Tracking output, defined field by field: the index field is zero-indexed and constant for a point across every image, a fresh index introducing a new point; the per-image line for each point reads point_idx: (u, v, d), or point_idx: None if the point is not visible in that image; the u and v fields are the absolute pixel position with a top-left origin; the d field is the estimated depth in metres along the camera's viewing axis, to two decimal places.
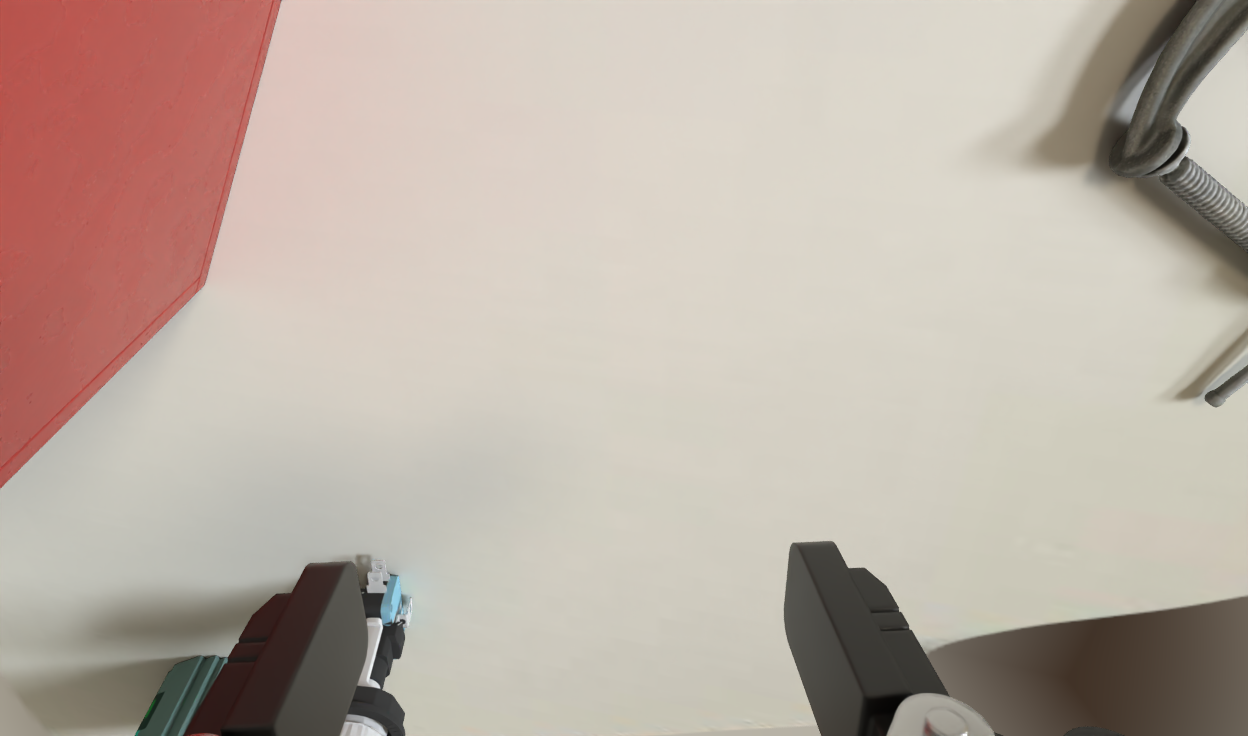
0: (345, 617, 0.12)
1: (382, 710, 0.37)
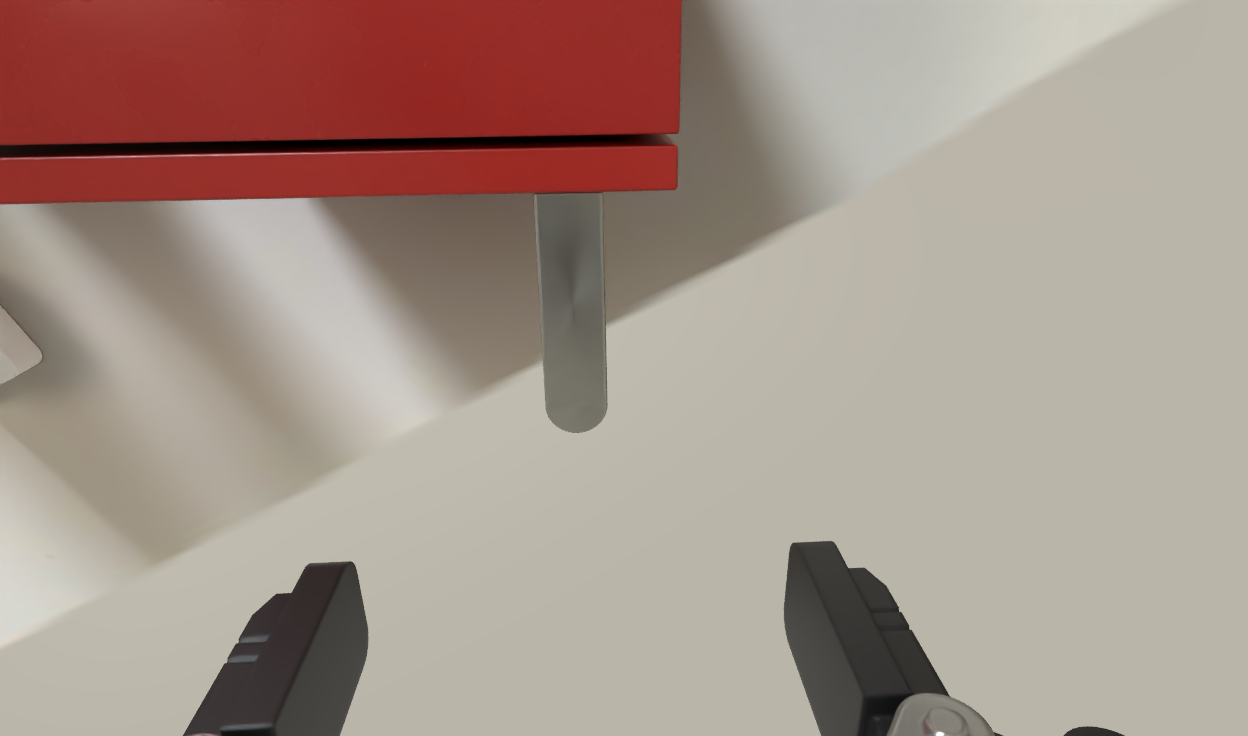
0: (345, 617, 0.12)
1: None
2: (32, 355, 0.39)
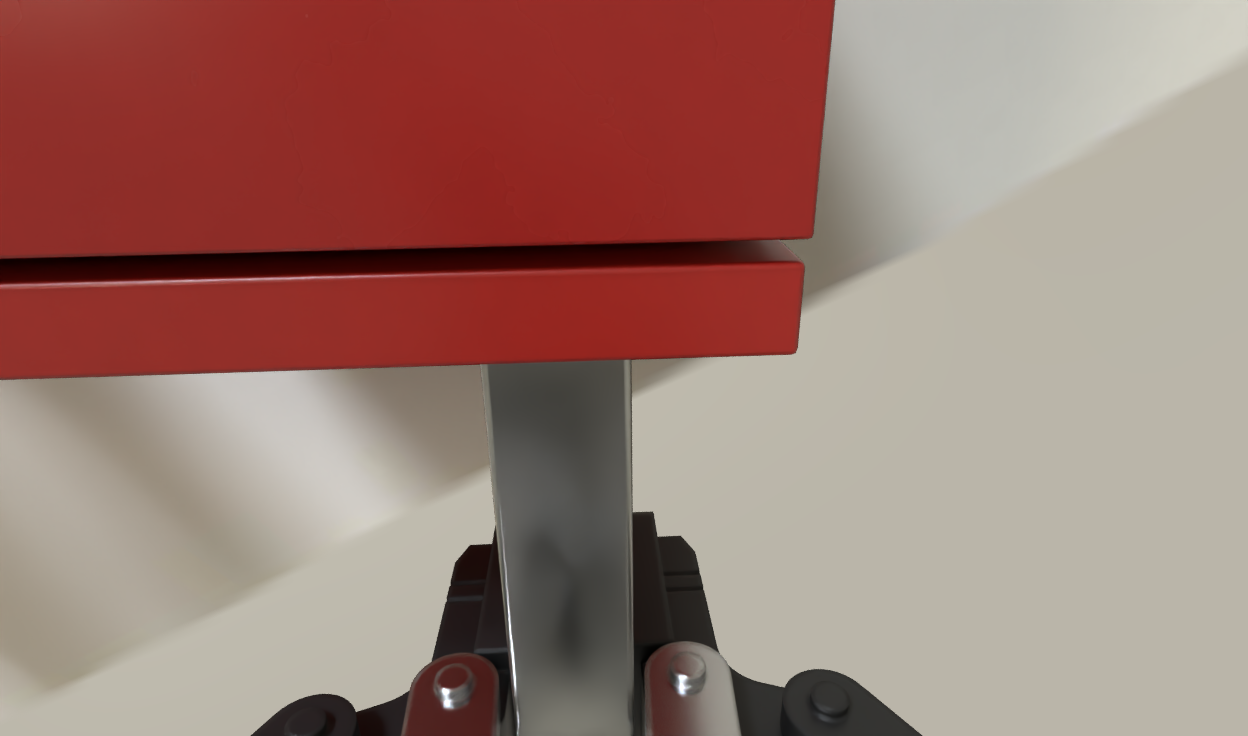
0: None
1: None
2: None
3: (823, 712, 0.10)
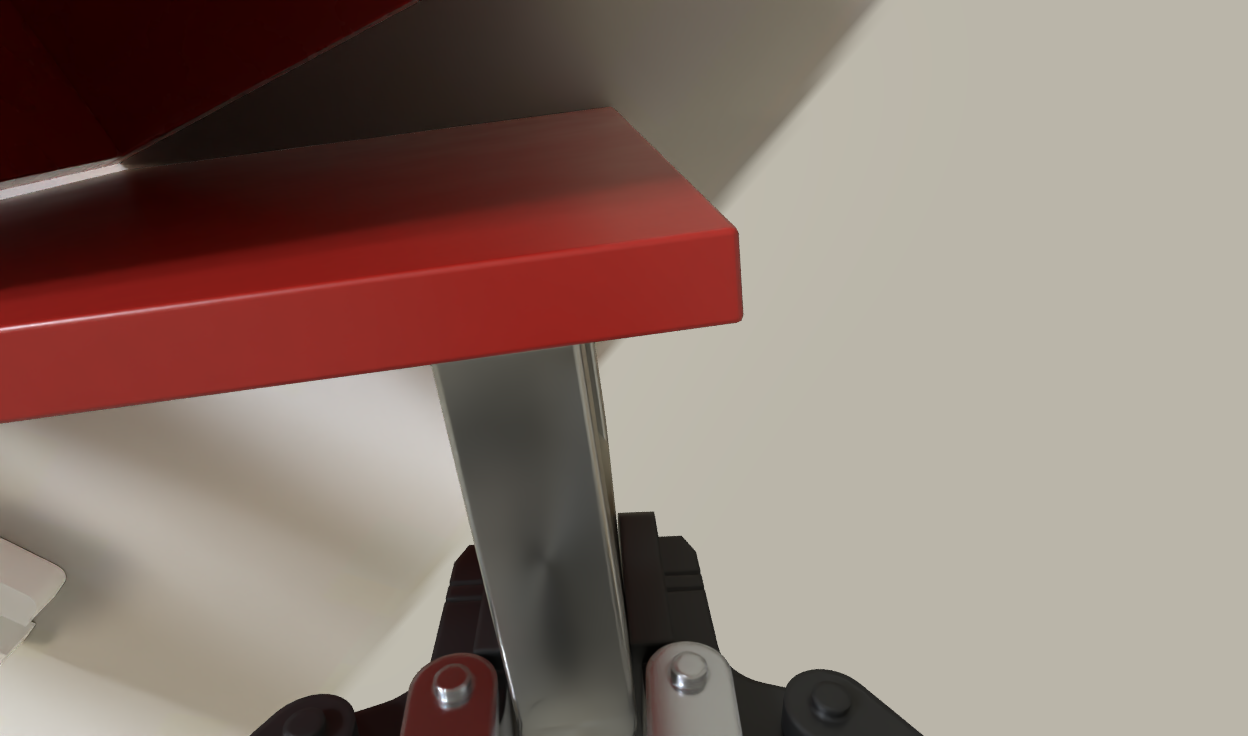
0: None
1: None
2: (50, 576, 0.32)
3: (824, 712, 0.10)
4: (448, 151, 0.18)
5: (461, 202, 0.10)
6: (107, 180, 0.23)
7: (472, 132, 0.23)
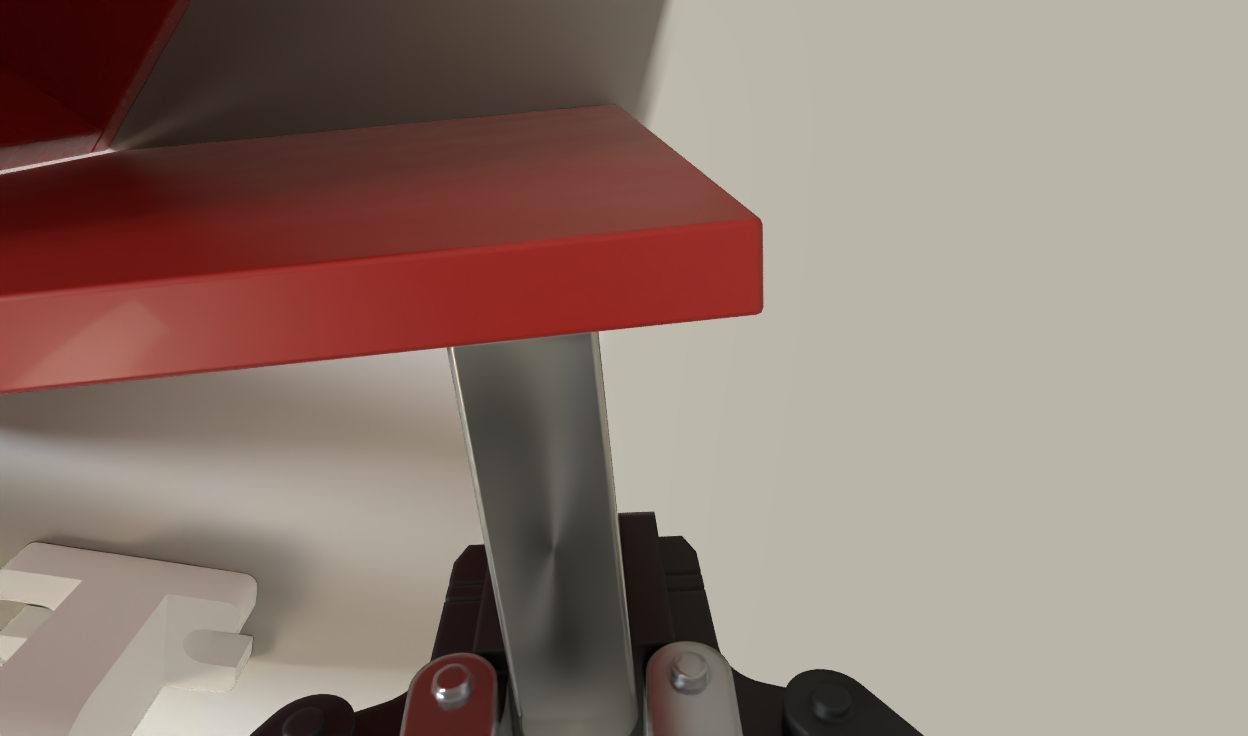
0: None
1: None
2: (241, 583, 0.33)
3: (825, 712, 0.10)
4: (454, 141, 0.18)
5: (475, 188, 0.10)
6: (105, 159, 0.23)
7: (477, 124, 0.23)
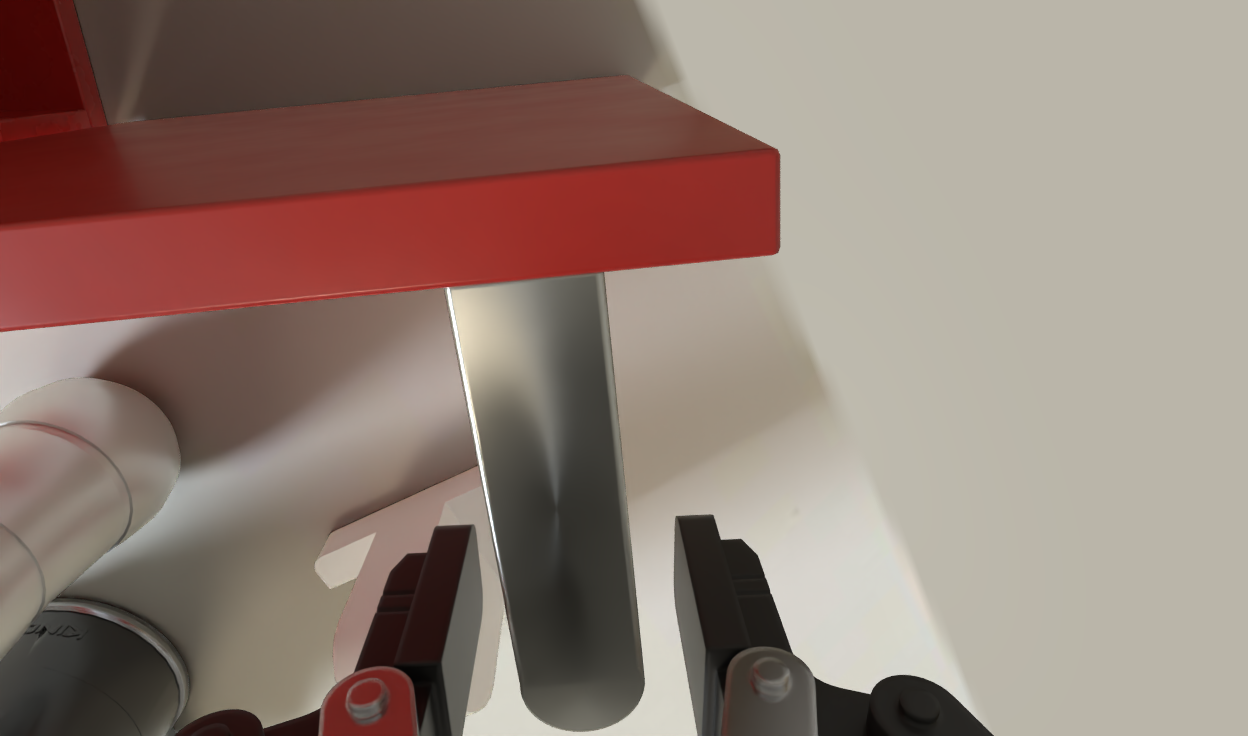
0: (471, 575, 0.13)
1: None
2: None
3: (914, 719, 0.09)
4: (461, 105, 0.18)
5: (478, 136, 0.10)
6: (109, 128, 0.22)
7: (485, 93, 0.23)
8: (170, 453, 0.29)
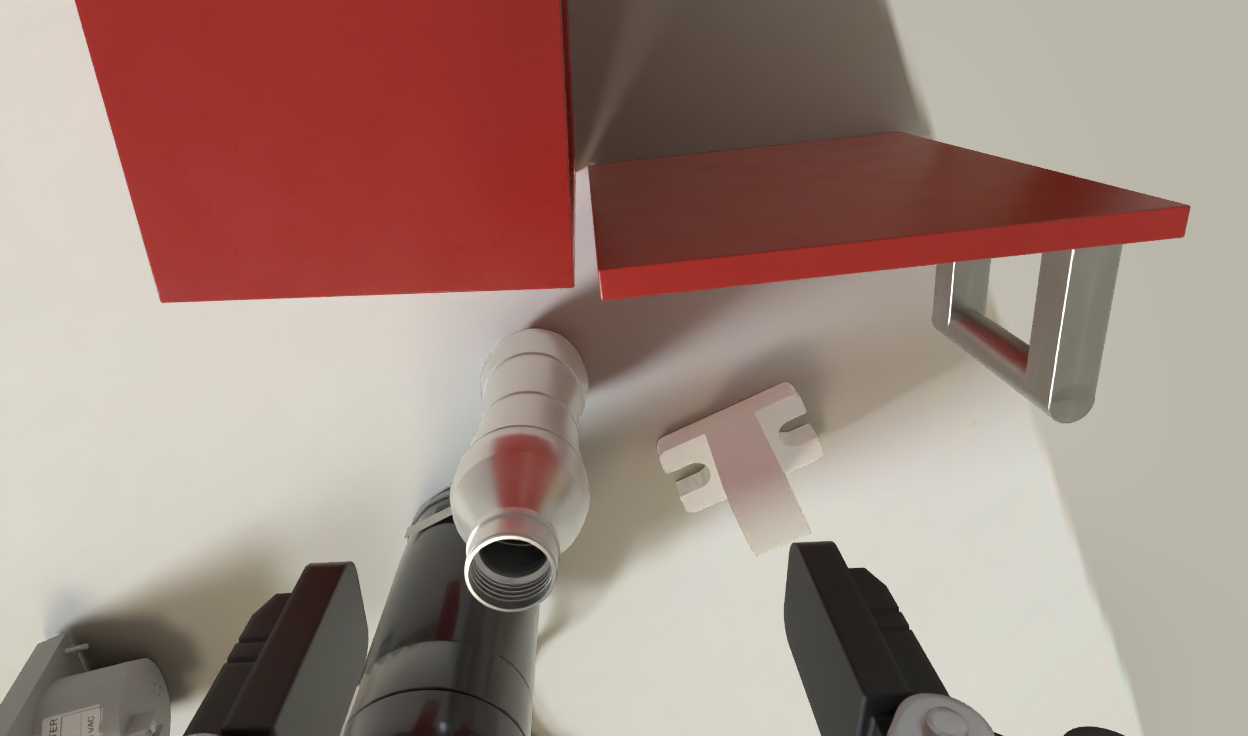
0: (345, 618, 0.12)
1: None
2: (785, 386, 0.47)
3: None
4: (885, 164, 0.33)
5: (1017, 193, 0.26)
6: (624, 172, 0.38)
7: (843, 149, 0.38)
8: (586, 378, 0.45)
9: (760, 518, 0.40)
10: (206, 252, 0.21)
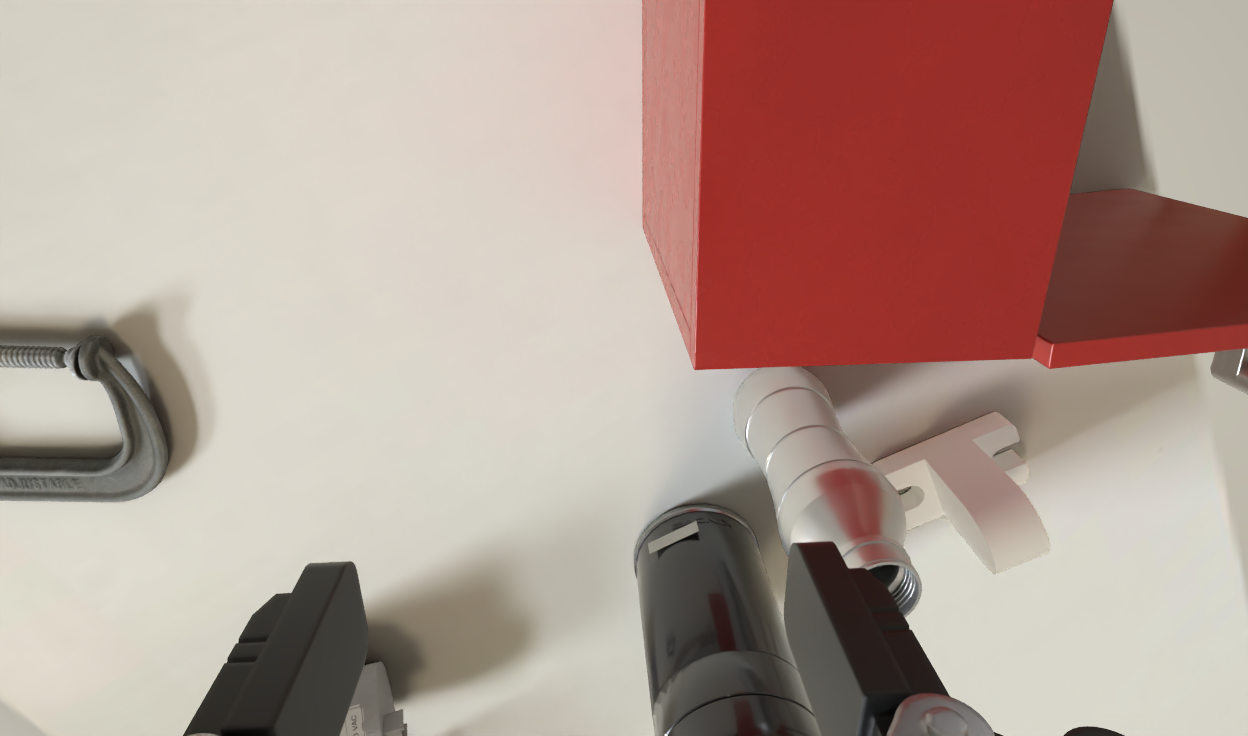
0: (345, 617, 0.12)
1: None
2: (997, 416, 0.51)
3: None
4: (1171, 229, 0.37)
5: None
6: None
7: (1098, 208, 0.42)
8: None
9: (1008, 540, 0.44)
10: (743, 329, 0.25)
